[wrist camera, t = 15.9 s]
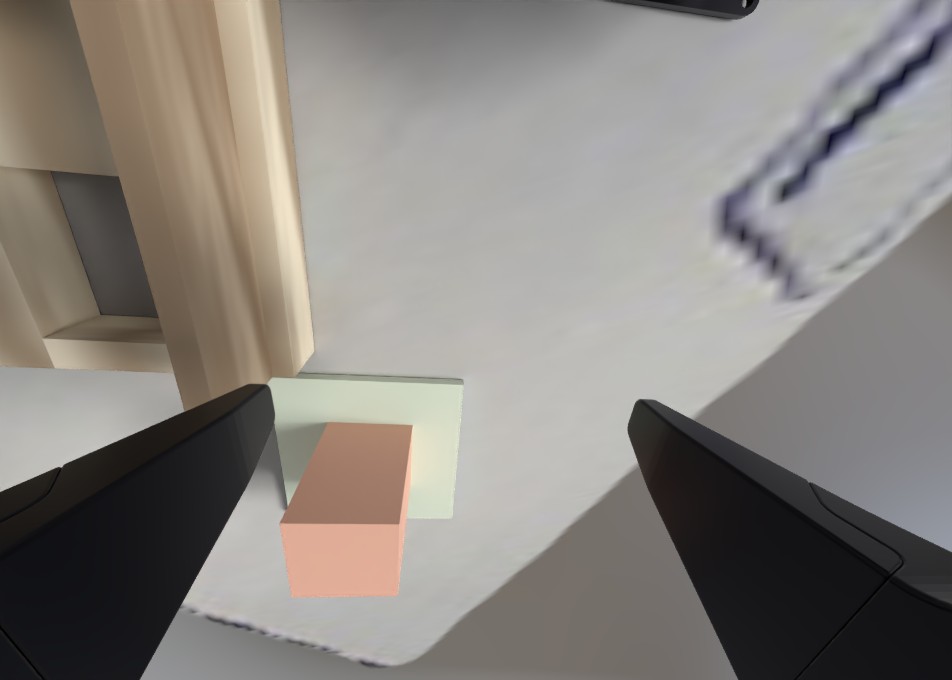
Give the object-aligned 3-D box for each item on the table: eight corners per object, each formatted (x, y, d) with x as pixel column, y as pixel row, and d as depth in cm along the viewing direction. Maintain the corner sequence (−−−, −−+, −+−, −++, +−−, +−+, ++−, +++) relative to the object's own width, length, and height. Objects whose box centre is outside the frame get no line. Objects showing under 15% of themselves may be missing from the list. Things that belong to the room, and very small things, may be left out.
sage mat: (463, 379, 22) (463, 384, 22) (451, 511, 26) (452, 518, 26) (271, 372, 21) (266, 377, 20) (293, 510, 25) (289, 518, 25)
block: (410, 486, 24) (397, 595, 18) (332, 484, 24) (291, 597, 18) (412, 425, 22) (399, 524, 16) (328, 422, 22) (279, 523, 16)
